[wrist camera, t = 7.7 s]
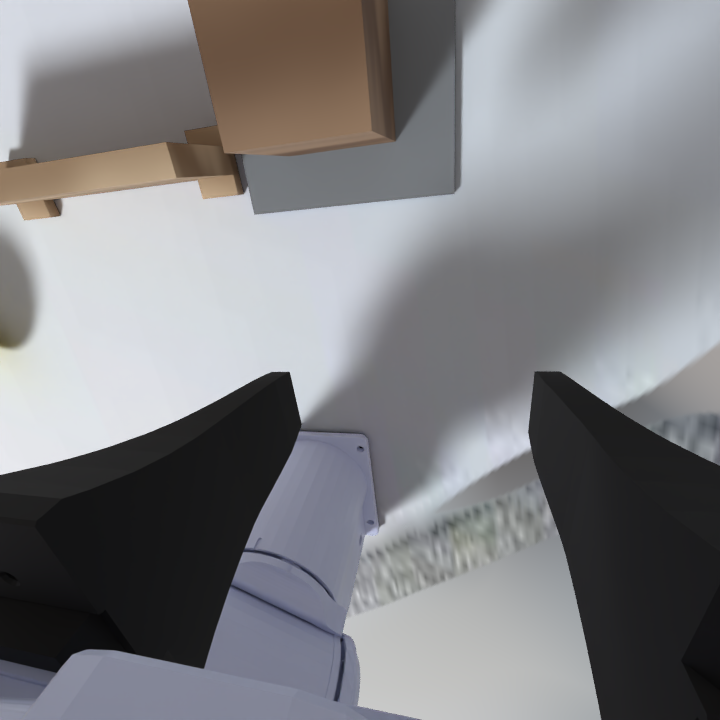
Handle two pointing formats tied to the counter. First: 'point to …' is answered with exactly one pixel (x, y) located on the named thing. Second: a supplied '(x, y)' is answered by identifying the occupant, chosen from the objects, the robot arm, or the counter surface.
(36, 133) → the counter surface
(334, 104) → the letter block
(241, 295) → the counter surface
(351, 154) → the mat
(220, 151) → the screen
